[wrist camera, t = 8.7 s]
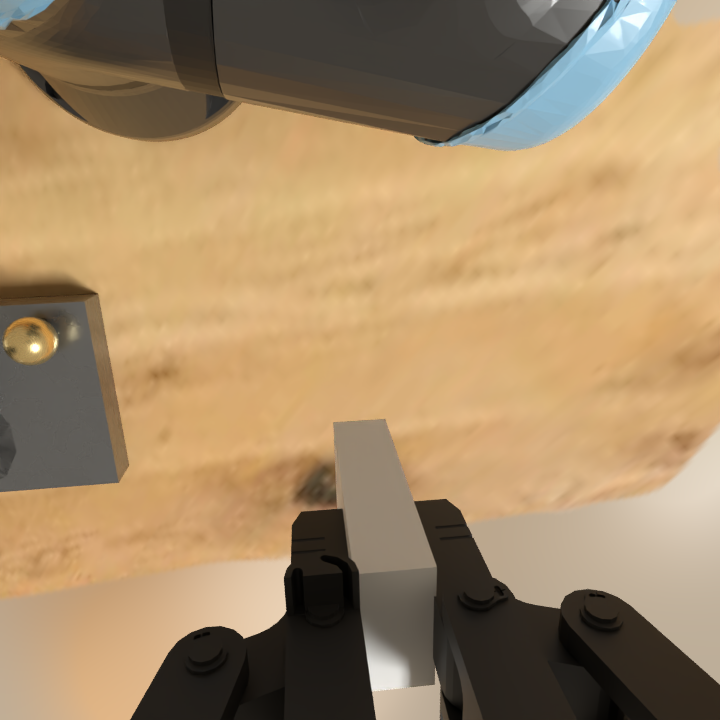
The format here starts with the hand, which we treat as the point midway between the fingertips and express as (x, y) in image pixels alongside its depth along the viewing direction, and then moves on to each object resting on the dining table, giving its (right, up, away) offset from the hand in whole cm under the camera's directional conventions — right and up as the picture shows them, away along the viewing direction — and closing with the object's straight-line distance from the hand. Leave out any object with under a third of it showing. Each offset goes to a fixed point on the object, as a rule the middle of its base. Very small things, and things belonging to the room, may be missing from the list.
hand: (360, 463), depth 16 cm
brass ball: (-20, +4, +18) cm, 27 cm away
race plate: (-24, +1, +23) cm, 34 cm away
